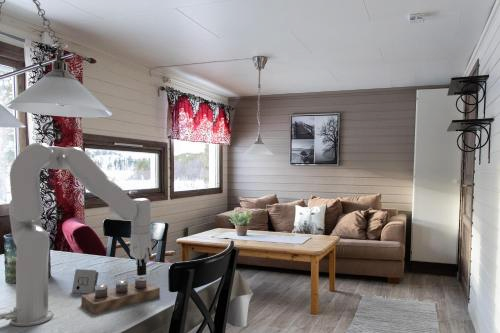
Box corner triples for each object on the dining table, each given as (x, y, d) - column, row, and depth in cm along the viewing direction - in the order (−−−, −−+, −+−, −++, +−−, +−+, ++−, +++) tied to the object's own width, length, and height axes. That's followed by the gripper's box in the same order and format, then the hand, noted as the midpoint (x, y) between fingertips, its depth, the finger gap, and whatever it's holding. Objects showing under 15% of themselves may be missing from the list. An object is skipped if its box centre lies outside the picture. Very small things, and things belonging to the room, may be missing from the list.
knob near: (97, 300, 140) (97, 288, 140) (93, 297, 143) (93, 285, 143) (109, 298, 143) (109, 285, 143) (104, 295, 146) (104, 283, 146)
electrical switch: (71, 292, 158) (72, 269, 159) (79, 290, 163) (80, 267, 164) (91, 294, 156) (93, 271, 157) (99, 291, 161) (100, 269, 162)
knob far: (138, 291, 151) (138, 279, 151) (133, 288, 155) (133, 277, 154) (148, 288, 154) (148, 277, 154) (143, 286, 158) (143, 275, 158)
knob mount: (94, 314, 136) (94, 304, 136) (81, 305, 144) (81, 295, 144) (159, 296, 154) (159, 288, 154) (144, 289, 162) (144, 281, 162)
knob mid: (118, 295, 146) (118, 283, 146) (113, 292, 149) (113, 281, 149) (129, 293, 149) (129, 281, 149) (124, 290, 152) (124, 279, 152)
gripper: (123, 228, 157) (124, 273, 157) (141, 233, 146) (142, 281, 147) (140, 226, 162) (141, 269, 163) (159, 230, 152) (159, 276, 152)
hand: (141, 274), depth 155 cm, fingers closed
